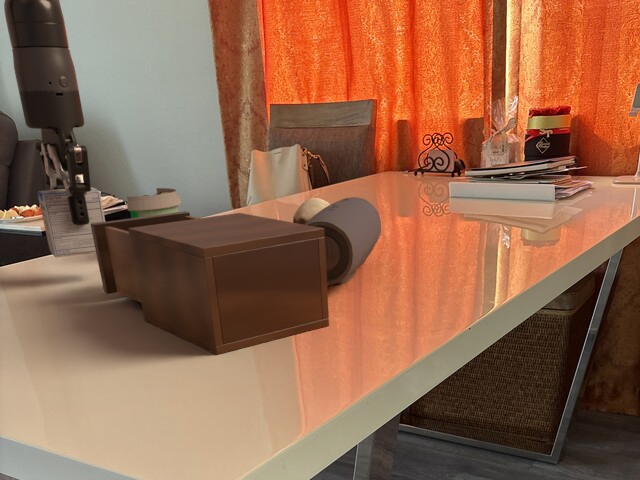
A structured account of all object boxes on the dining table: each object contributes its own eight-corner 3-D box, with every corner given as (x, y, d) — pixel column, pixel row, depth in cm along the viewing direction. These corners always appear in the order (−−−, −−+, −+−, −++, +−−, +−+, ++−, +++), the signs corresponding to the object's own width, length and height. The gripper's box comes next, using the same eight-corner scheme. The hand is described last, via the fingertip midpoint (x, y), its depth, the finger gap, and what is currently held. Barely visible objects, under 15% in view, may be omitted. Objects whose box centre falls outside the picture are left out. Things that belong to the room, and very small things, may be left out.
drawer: (91, 287, 99) (77, 220, 95) (180, 271, 107) (170, 208, 102) (158, 316, 85) (144, 239, 80) (255, 295, 92) (248, 223, 88)
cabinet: (144, 321, 87) (127, 228, 82) (248, 298, 95) (239, 212, 90) (216, 354, 75) (202, 248, 69) (329, 325, 83) (324, 228, 77)
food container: (171, 261, 118) (161, 196, 113) (136, 260, 119) (125, 197, 114) (199, 246, 129) (191, 187, 124) (167, 246, 130) (158, 187, 125)
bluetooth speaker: (328, 259, 115) (324, 193, 110) (385, 260, 114) (384, 192, 109) (290, 295, 96) (284, 216, 91) (358, 296, 94) (355, 216, 89)
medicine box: (103, 247, 109) (93, 186, 105) (111, 252, 105) (100, 189, 101) (49, 253, 105) (36, 190, 101) (55, 258, 102) (41, 193, 98)
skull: (307, 228, 135) (336, 187, 128) (342, 270, 134) (372, 230, 127) (266, 237, 126) (295, 192, 119) (303, 281, 125) (333, 239, 118)
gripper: (3, 89, 98) (32, 219, 106) (37, 87, 88) (66, 231, 96) (58, 88, 102) (82, 214, 110) (96, 87, 92) (119, 225, 100)
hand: (74, 221), depth 103 cm, fingers closed on medicine box, 4 cm apart
